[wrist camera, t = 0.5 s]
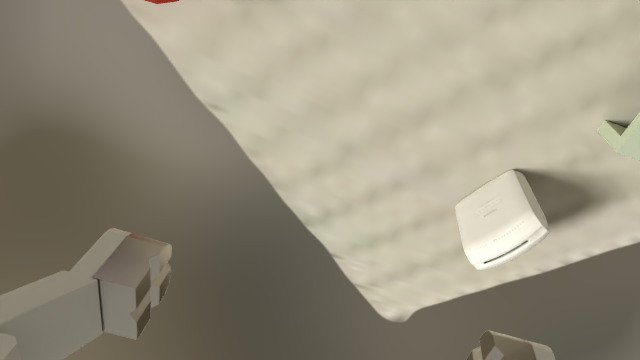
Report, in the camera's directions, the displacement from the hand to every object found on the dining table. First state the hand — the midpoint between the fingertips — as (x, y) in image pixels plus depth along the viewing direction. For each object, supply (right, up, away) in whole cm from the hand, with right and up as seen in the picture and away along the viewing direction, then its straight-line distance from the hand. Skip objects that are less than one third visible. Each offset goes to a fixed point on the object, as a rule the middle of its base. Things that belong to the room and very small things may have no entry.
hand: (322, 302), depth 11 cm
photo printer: (+23, +1, +49) cm, 54 cm away
